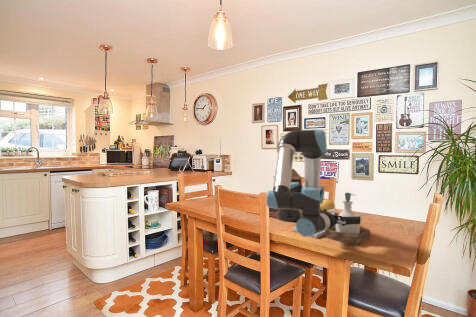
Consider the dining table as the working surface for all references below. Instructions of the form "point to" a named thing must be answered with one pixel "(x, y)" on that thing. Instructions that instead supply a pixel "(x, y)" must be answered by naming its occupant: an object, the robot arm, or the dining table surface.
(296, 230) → the tray
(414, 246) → the dining table surface
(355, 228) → the soap bottle
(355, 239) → the walnut holder
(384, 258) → the dining table surface
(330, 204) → the stress ball
